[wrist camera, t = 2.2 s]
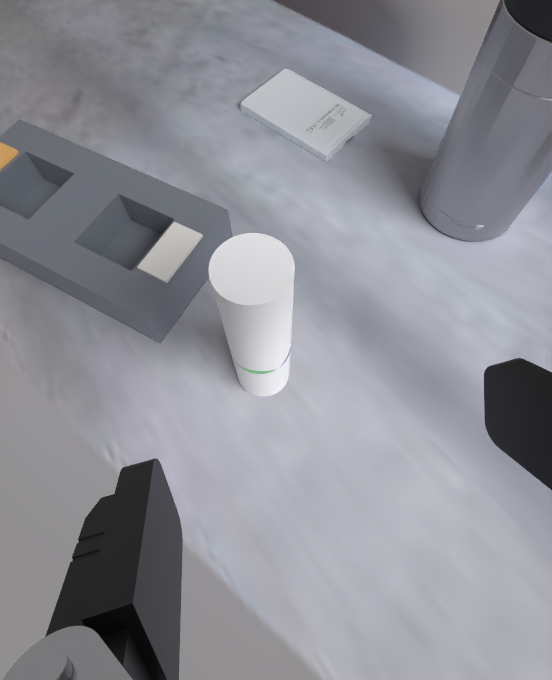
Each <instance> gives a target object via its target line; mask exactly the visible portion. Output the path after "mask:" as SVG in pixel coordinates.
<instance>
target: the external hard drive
mask: <svg viewBox="0 0 552 680" xmlns="http://www.w3.org/2000/svg"><path fill="white" fill-rule="evenodd" d="M240 105H241V111H242V112H244V113H245V114H247V115H249V116H250V117H252V118H254V119H255V120H257V121H259V122H260V123H262V124H264V125H265V126H267V127H269V128H270V129H272V130H274V131H275V132H277V133H279V134H280V135H282V136H284V137H285V138H287V139H289V140H290V141H292V142H294V143H295V144H297V145H299V146H300V147H302V148H304V149H305V150H307V151H309V152H310V153H312V154H314V155H315V156H317V157H319V158H320V159H322V160H324V161H325V162H326V161H328V160H329V159H330V158H331V157H332V156H333V155H334V154H335V153H336V152H337V151H339V150H340V149H341V148H342V147H343V146H344V145H345V143H346V141H348V140H349V139H350V138H353V137H354V136H355V135H356V134H357V133H359V132H360V131H361V130H362V129H363V128H364V127H365V126H366V125H368V124H369V123H370V122H371V118H372V115H371V114H369V113H367V112H365V111H363V110H361V109H360V108H358V107H356V106H354V105H353V104H351V103H349V102H347V101H345V100H344V99H342V98H340V97H338V96H336V95H335V94H333V93H331V92H329V91H327V90H325V89H324V88H322V87H320V86H318V85H316V84H315V83H313V82H311V81H309V80H307V79H305V78H304V77H302V76H300V75H298V74H296V73H294V72H293V71H291V70H289V69H287V68H286V69H284V70H282V71H281V72H280V73H278V74H277V75H276V76H274V77H273V78H272V79H270V80H269V81H268V82H266V83H265V84H264V85H262V86H261V87H259V88H258V89H257V90H256V91H254V92H253V93H252V94H250V95H249V96H248V97H246V98H245V99H244V100H243V101H242V102H241V104H240Z"/></svg>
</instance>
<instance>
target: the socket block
mask: <svg viewBox="0 0 552 680" xmlns="http://www.w3.org/2000/svg"><path fill="white" fill-rule="evenodd" d="M230 238H232V232H231V226H230V220H229V214H228V210H227V209H224V208H222V207H220V206H217V205H215V204H213V203H210V202H208V201H206V200H204V199H201V198H199V197H197V196H194V195H192V194H190V193H188V192H185V191H183V190H181V189H178V188H176V187H174V186H171V185H169V184H167V183H165V182H162V181H160V180H158V179H155V178H153V177H151V176H148V175H146V174H144V173H142V172H139V171H137V170H135V169H132V168H130V167H128V166H125V165H123V164H121V163H119V162H116V161H114V160H112V159H109V158H107V157H105V156H102V155H100V154H98V153H96V152H93V151H91V150H89V149H86V148H84V147H82V146H80V145H77V144H75V143H73V142H70V141H68V140H66V139H63V138H61V137H59V136H57V135H54V134H52V133H50V132H47V131H45V130H43V129H40V128H38V127H36V126H34V125H31V124H29V123H27V122H24V121H22V120H19V121H17V122H16V123H15V124H14V125H13V126H12V127H11V128H9V129H8V130H7V131H6V132H5V133H4V134H2V135H1V136H0V258H2V259H4V260H6V261H8V262H10V263H12V264H13V265H15V266H17V267H19V268H21V269H23V270H25V271H26V272H28V273H30V274H32V275H34V276H36V277H38V278H40V279H41V280H43V281H45V282H47V283H49V284H51V285H53V286H54V287H56V288H58V289H60V290H62V291H64V292H66V293H68V294H69V295H71V296H73V297H75V298H77V299H79V300H81V301H82V302H84V303H86V304H88V305H90V306H92V307H94V308H95V309H97V310H99V311H101V312H103V313H105V314H107V315H109V316H110V317H112V318H114V319H116V320H118V321H120V322H122V323H123V324H125V325H127V326H129V327H131V328H133V329H135V330H137V331H138V332H140V333H142V334H144V335H146V336H148V337H150V338H151V339H153V340H155V341H157V342H159V343H161V342H162V340H163V339H164V338H165V336H166V335H167V333H168V332H169V331H170V329H171V328H172V327H173V325H174V324H175V322H176V321H177V320H178V318H179V317H180V316H181V314H182V313H183V311H184V310H185V309H186V307H187V306H188V305H189V303H190V302H191V300H192V299H193V298H194V296H195V295H196V294H197V292H198V291H199V289H200V288H201V287H202V285H203V284H204V283H205V281H206V280H207V279H208V277H209V271H208V269H209V262H210V260H211V257H212V255H213V253H214V252H215V250H216V249H217V248H218V247H219V246H220V245H221V244H222V243H224V242H225V241H226V240H228V239H230Z"/></svg>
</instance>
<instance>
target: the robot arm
mask: <svg viewBox="0 0 552 680" xmlns="http://www.w3.org/2000/svg"><path fill="white" fill-rule="evenodd" d="M551 172H552V0H500V2H499V4H498V7H497V9H496V11H495V14H494V17H493V19H492V21H491V24H490V26H489V28H488V31H487V33H486V35H485V39H484V41H483V43H482V46H481V48H480V51H479V53H478V55H477V58H476V60H475V63H474V65H473V67H472V70H471V72H470V75H469V77H468V79H467V82H466V84H465V87H464V89H463V92H462V94H461V96H460V98H459V101H458V103H457V106H456V108H455V110H454V113H453V115H452V118H451V120H450V122H449V125H448V127H447V130H446V132H445V134H444V137H443V139H442V142H441V144H440V146H439V149H438V151H437V154H436V156H435V158H434V160H433V163H432V165H431V168H430V170H429V172H428V175H427V177H426V180H425V182H424V184H423V187H422V189H421V193H420V206H421V209H422V212H423V214H424V215H425V217H426V218H427V220H428V221H429V222H430V223H431V224H432V225H433V226H434V227H435V228H437V229H438V230H440V231H441V232H443V233H445V234H447V235H449V236H451V237H454V238H457V239H460V240H466V241H484V240H489V239H493V238H495V237H497V236H500V235H501V234H502V233H504V232H505V231H506V230H507V229H508V228H509V226H510V225H511V224H512V222H513V221H514V220H515V219H516V217H517V216H518V215H519V213H520V212H521V211H522V209H523V208H524V207H525V206H526V204H527V203H528V202H529V200H530V199H531V198H532V197H533V195H534V194H535V193H536V191H537V190H538V189H539V188H540V186H541V185H542V184H543V182H544V181H545V180H546V178H547V177H548V176H549V174H550V173H551ZM484 404H485V425H486V429H487V432H488V434H489V436H490V438H491V439H492V441H493V442H494V443H495V445H496V446H498V447H499V448H500V449H501V450H502V451H504V452H505V453H506V454H507V455H509V456H510V457H511V458H512V459H514V460H515V461H516V462H517V463H519V464H520V465H521V466H522V467H524V468H525V469H526V470H527V471H529V472H530V473H531V474H532V475H534V476H535V477H536V478H537V479H539V480H540V481H541V482H542V483H544V484H545V485H546V486H547V487H549V488H550V489H551V490H552V372H550V371H548V370H545V369H543V368H541V367H539V366H537V365H535V364H533V363H531V362H529V361H526V360H524V359H521V358H517V359H513V360H510V361H506V362H503V363H499V364H495V365H492V366H489V367H488V368H487V369H486V370H485V373H484ZM78 540H79V543H78V544H77V545H76V548H75V551H74V553H73V556H72V558H73V562H71V563H70V566H69V568H68V572H67V574H66V578H65V580H64V583H63V586H62V589H61V592H60V595H59V599H58V601H57V604H56V607H55V610H54V613H53V616H52V619H51V622H50V625H49V628H48V631H47V634H46V636H45V638H43V639H42V640H40V641H39V642H37V643H36V644H35V645H33V646H32V647H31V648H30V649H29V650H28V651H27V652H25V653H24V654H23V655H22V656H21V657H20V658H19V659H18V661H17V662H16V663H15V664H14V665H13V666H12V668H11V669H10V670H9V672H8V673H7V674H6V676H5V677H4V679H3V680H179V650H180V613H181V575H182V529H181V523H180V518H179V515H178V511H177V508H176V506H175V503H174V500H173V497H172V494H171V492H170V489H169V486H168V483H167V480H166V477H165V475H164V472H163V469H162V466H161V464H160V462H159V460H158V459H152V460H148V461H145V462H141V463H138V464H134V465H130V466H127V467H123V468H122V469H121V472H120V475H119V479H118V483H117V487H116V490H115V494H113V495H110V496H106V497H103V498H101V499H100V500H99V501H98V503H97V504H96V505H95V507H94V508H93V509H92V511H91V512H90V513H89V514H88V516H87V517H86V518H85V521H84V524H83V527H82V530H81V533H80V536H79V539H78Z"/></svg>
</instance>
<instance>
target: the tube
mask: <svg viewBox="0 0 552 680" xmlns="http://www.w3.org/2000/svg"><path fill="white" fill-rule="evenodd" d="M294 270H295V265H294V260H293V257H292V255H291V253H290V251H289V250H288V248H287V247H286V246H285V245H284V244H283V243H282V242H280V241H279V240H277V239H276V238H274V237H271V236H268V235H265V234H260V233H247V234H241V235H237V236H234V237H232V238H230V239H228V240H226V241H225V242H224V243H222V244H221V245H220V246H219V247H218V248H217V249H216V250H215V252H214V253H213V255H212V257H211V260H210V262H209V269H208V271H209V278H210V282H211V285H212V289H213V292H214V296H215V299H216V303H217V306H218V310H219V313H220V317H221V320H222V324H223V327H224V331H225V334H226V338H227V341H228V345H229V348H230V352H231V355H232V359H233V362H234V365H235V369H236V372H237V376H238V379H239V382H240V384H241V385H242V387H243V388H244V389H245V390H246V391H247V392H249V393H251V394H253V395H256V396H263V397H265V396H271V395H273V394H276V393H277V392H279V391H280V390H281V389H282V388H283V387H284V386H285V385H286V383H287V381H288V377H289V367H290V347H291V330H292V310H293V291H294Z"/></svg>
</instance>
